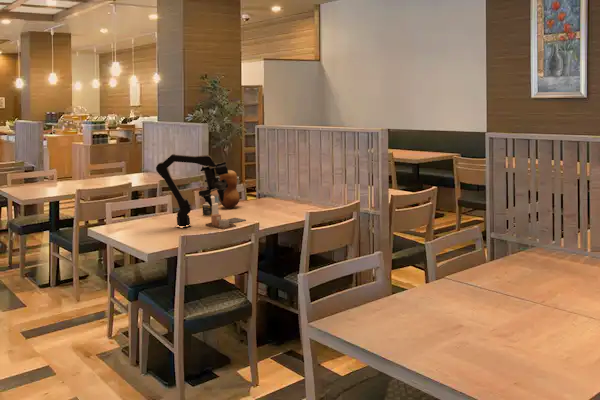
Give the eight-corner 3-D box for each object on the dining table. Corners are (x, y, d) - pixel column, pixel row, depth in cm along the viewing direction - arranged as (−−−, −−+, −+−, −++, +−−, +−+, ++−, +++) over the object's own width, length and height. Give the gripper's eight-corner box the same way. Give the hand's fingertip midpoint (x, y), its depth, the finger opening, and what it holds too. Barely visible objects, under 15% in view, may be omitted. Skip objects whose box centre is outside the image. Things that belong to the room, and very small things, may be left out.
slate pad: (232, 223, 343) (232, 222, 343) (221, 221, 350) (221, 220, 350) (245, 220, 350) (245, 219, 350) (235, 218, 357) (234, 217, 357)
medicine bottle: (202, 215, 369) (201, 196, 367) (209, 213, 375) (208, 194, 373) (212, 216, 366) (211, 197, 364) (218, 214, 372) (217, 195, 370)
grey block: (224, 228, 333) (224, 221, 333) (219, 227, 336) (218, 220, 335) (229, 226, 337) (229, 219, 336) (224, 225, 339) (223, 219, 338)
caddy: (223, 229, 330) (223, 227, 330) (205, 225, 341) (205, 223, 341) (235, 226, 336) (235, 224, 336) (217, 222, 347) (217, 221, 347)
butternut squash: (244, 207, 392) (242, 169, 388) (228, 210, 383) (226, 172, 378) (230, 205, 402) (228, 168, 397) (214, 208, 392) (212, 170, 387)
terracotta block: (216, 226, 338) (215, 216, 337) (211, 225, 341) (211, 215, 340) (221, 225, 341) (221, 214, 340) (217, 224, 344) (216, 214, 343)
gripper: (209, 180, 325) (215, 207, 328) (232, 172, 340) (238, 198, 343) (195, 181, 332) (201, 208, 335) (218, 173, 346) (224, 199, 349)
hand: (216, 203), depth 340 cm, fingers open, 9 cm apart
